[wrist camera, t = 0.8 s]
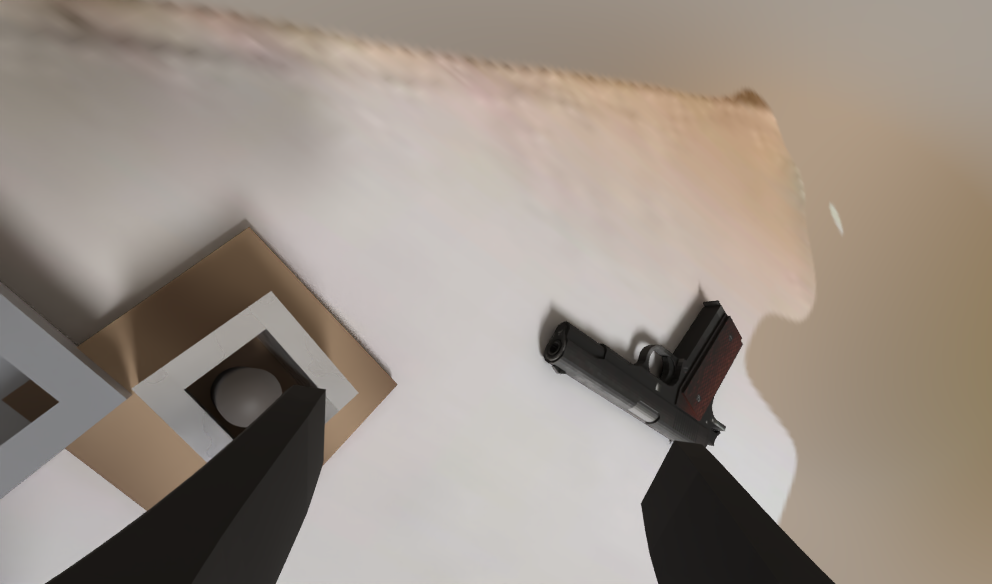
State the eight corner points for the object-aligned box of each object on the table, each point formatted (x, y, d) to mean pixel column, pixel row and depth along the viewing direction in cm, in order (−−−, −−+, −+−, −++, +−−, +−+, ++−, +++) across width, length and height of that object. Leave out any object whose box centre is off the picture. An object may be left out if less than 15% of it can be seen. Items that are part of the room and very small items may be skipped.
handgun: (617, 200, 33) (559, 367, 28) (751, 325, 40) (723, 471, 36) (591, 209, 35) (534, 366, 30) (724, 326, 42) (694, 465, 38)
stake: (224, 565, 19) (236, 618, 15) (6, 398, 16) (-48, 411, 13) (392, 383, 24) (434, 388, 20) (247, 229, 21) (263, 200, 17)
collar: (233, 477, 19) (244, 498, 16) (138, 383, 18) (130, 388, 15) (334, 388, 22) (358, 392, 19) (257, 300, 21) (271, 291, 18)
